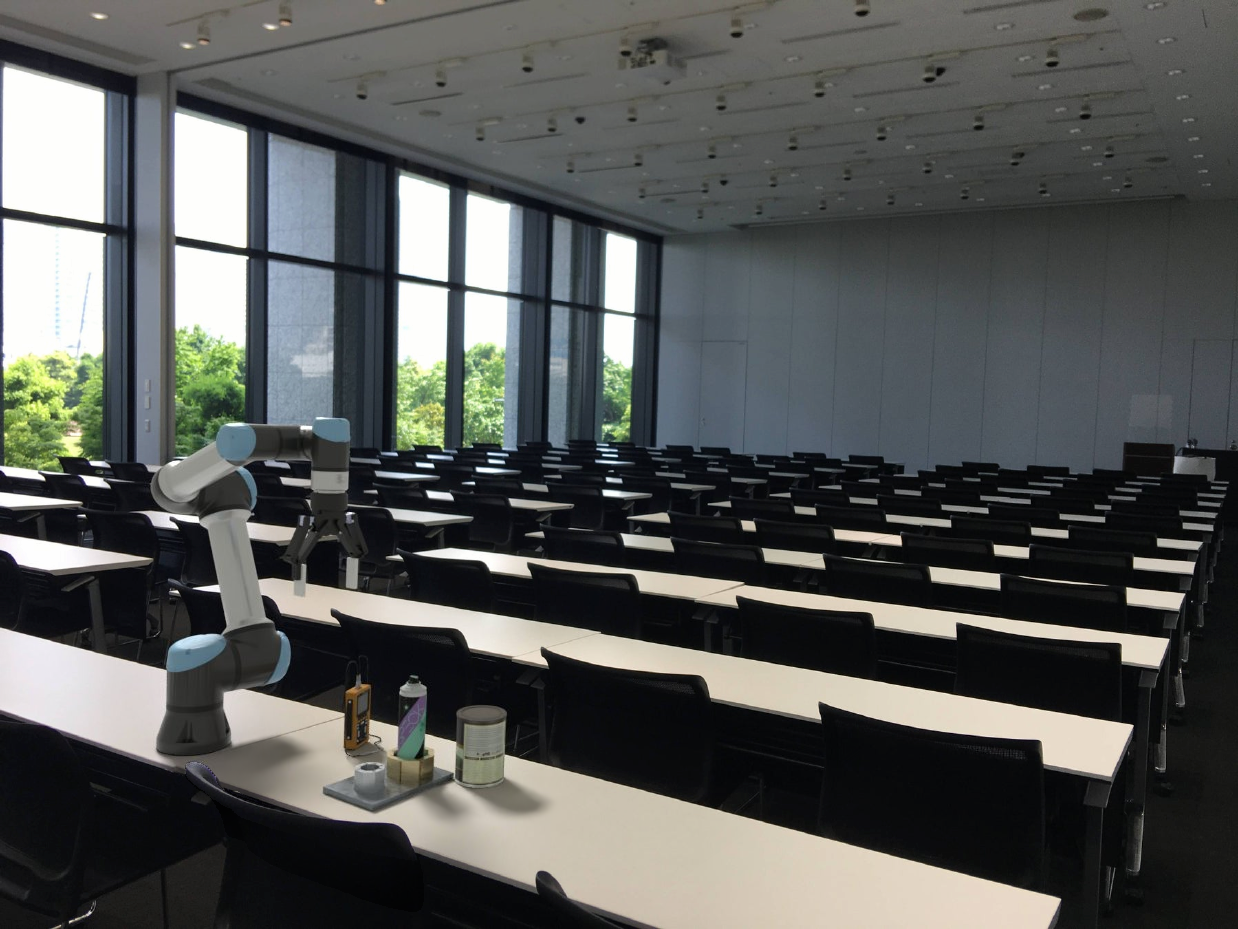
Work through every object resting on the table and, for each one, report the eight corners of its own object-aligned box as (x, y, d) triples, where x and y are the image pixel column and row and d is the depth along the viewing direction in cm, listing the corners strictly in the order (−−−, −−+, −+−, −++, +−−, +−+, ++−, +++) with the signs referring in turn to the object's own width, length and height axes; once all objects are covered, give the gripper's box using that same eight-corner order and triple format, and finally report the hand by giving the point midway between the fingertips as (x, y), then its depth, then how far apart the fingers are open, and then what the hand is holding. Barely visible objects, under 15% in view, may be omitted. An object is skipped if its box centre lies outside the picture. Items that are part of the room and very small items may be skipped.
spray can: (394, 769, 201) (397, 673, 200) (420, 766, 203) (424, 672, 203) (399, 778, 196) (402, 680, 195) (426, 775, 198) (430, 678, 198)
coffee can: (443, 780, 200) (446, 712, 199) (478, 766, 208) (480, 702, 207) (480, 792, 194) (482, 723, 193) (514, 778, 202) (517, 712, 202)
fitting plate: (323, 792, 190) (323, 766, 190) (405, 763, 208) (406, 739, 208) (372, 811, 182) (373, 784, 182) (453, 778, 201) (454, 753, 200)
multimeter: (377, 760, 209) (380, 669, 208) (334, 755, 211) (337, 664, 210) (405, 739, 223) (408, 653, 223) (365, 734, 225) (368, 649, 225)
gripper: (291, 494, 191) (287, 602, 192) (386, 490, 211) (383, 587, 212) (267, 491, 195) (264, 596, 196) (363, 488, 216) (360, 582, 216)
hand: (326, 592), depth 204 cm, fingers open, 13 cm apart
